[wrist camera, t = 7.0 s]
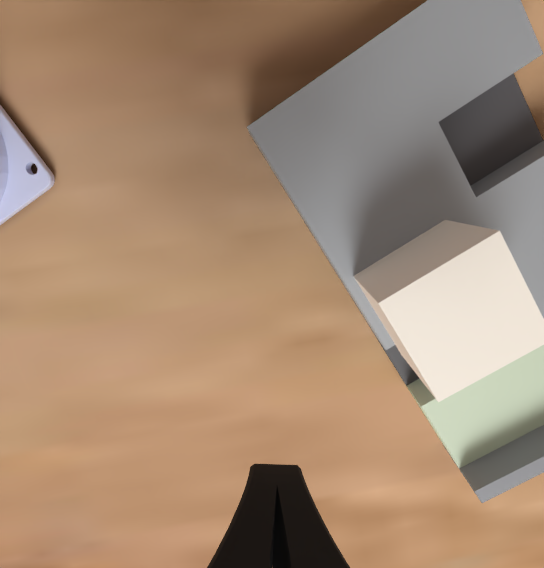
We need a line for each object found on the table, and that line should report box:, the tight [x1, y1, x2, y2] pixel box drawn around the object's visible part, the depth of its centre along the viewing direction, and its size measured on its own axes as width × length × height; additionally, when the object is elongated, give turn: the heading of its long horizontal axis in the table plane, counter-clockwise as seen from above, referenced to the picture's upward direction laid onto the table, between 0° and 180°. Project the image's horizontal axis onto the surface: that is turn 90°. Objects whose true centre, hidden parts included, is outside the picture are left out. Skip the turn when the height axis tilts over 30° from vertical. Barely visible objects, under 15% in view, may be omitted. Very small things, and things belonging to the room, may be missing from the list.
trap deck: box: [247, 0, 544, 503], centre depth 17 cm, size 20×11×4 cm, turn 33°
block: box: [353, 220, 544, 402], centre depth 15 cm, size 4×4×4 cm
